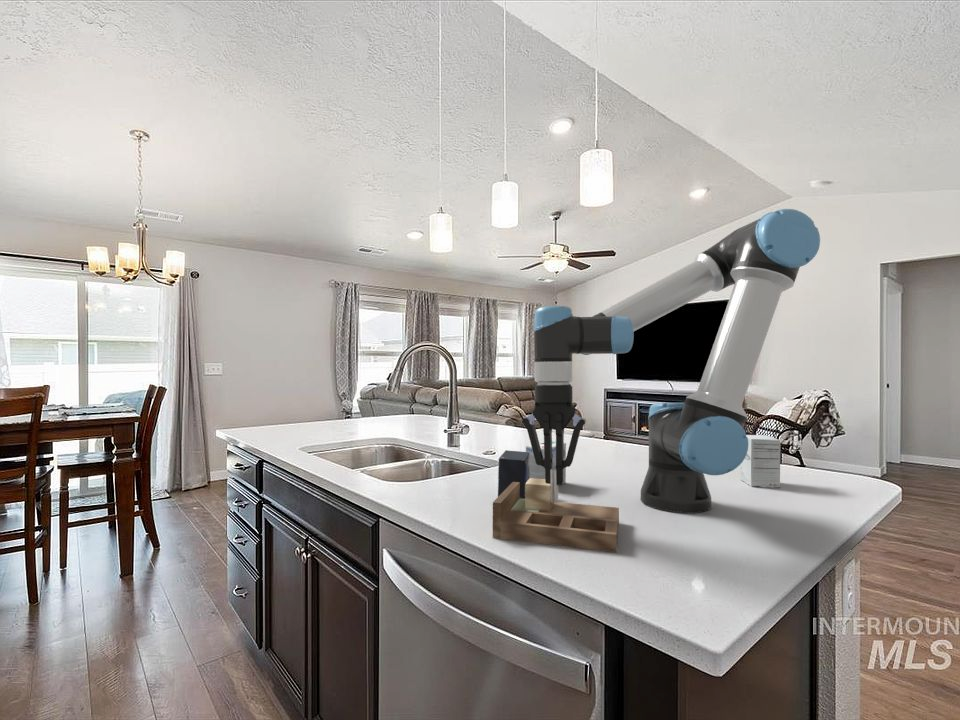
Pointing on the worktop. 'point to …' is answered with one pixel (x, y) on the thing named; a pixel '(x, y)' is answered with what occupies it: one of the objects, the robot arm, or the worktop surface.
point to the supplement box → (761, 462)
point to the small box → (513, 470)
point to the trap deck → (555, 523)
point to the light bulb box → (539, 470)
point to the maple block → (538, 495)
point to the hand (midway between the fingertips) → (554, 500)
